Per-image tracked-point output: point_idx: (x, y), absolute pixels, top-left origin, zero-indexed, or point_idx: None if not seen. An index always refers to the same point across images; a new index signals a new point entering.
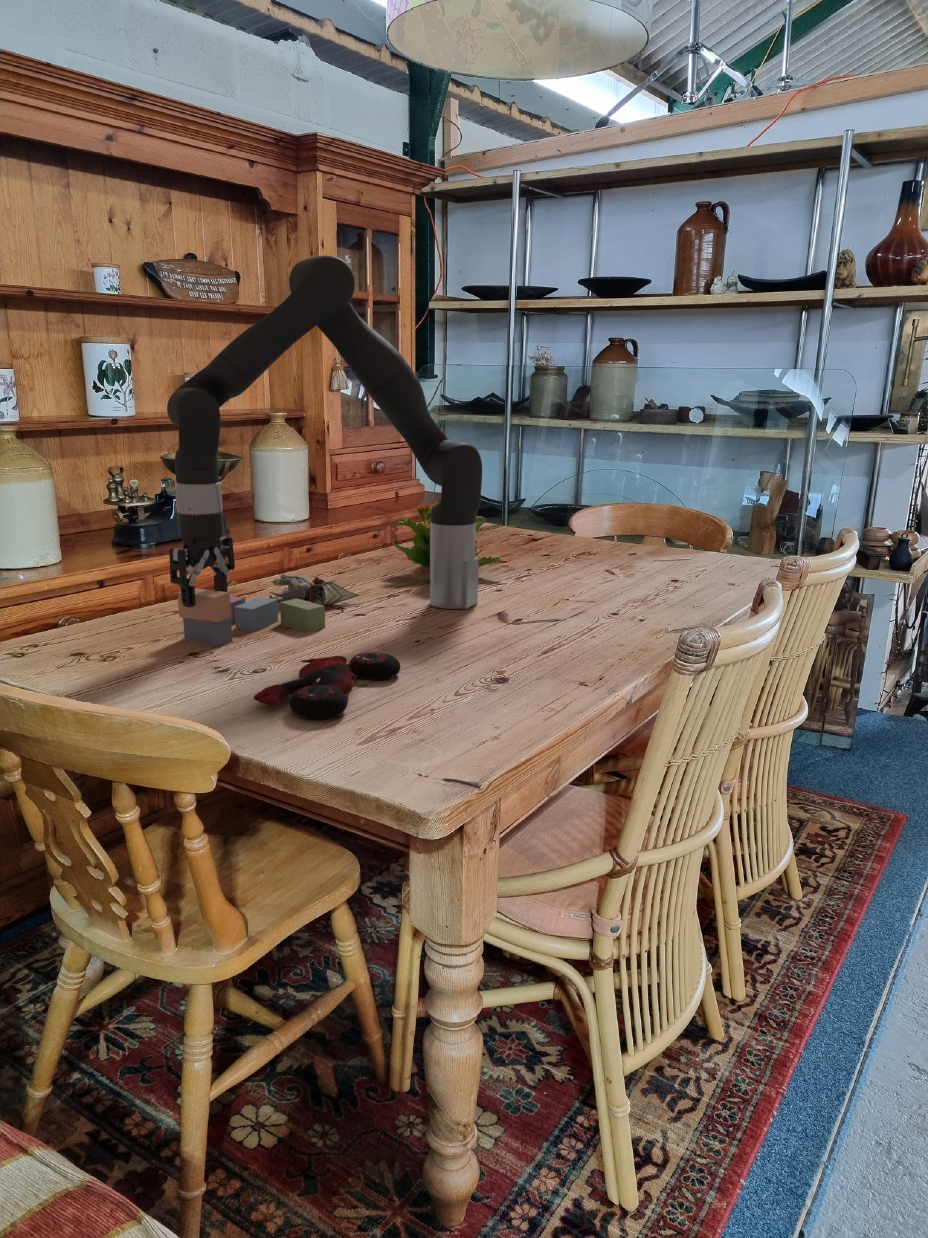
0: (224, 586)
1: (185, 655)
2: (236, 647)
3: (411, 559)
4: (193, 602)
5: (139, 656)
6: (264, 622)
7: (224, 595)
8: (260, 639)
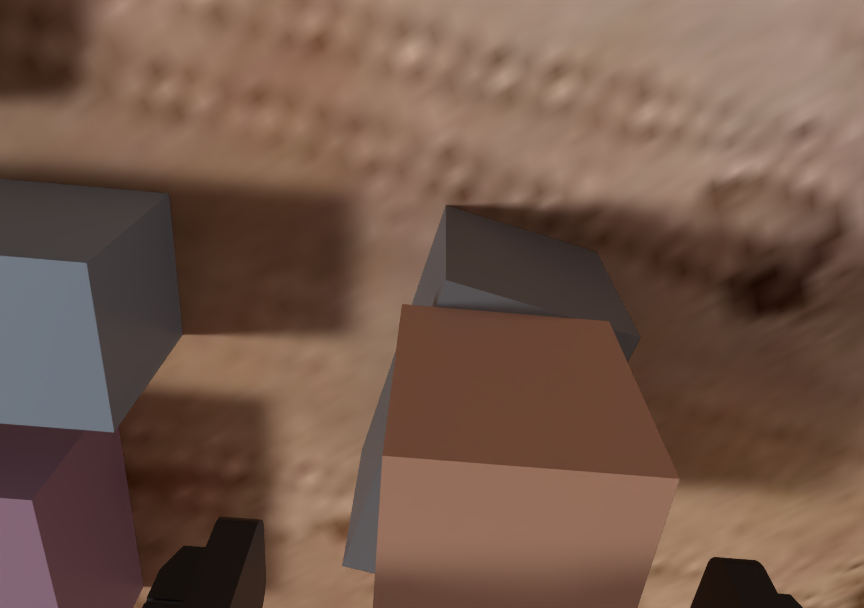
0: (227, 602)
1: (804, 317)
2: (565, 100)
3: None
4: (770, 591)
5: (849, 510)
6: (6, 191)
7: (490, 454)
8: (316, 31)
